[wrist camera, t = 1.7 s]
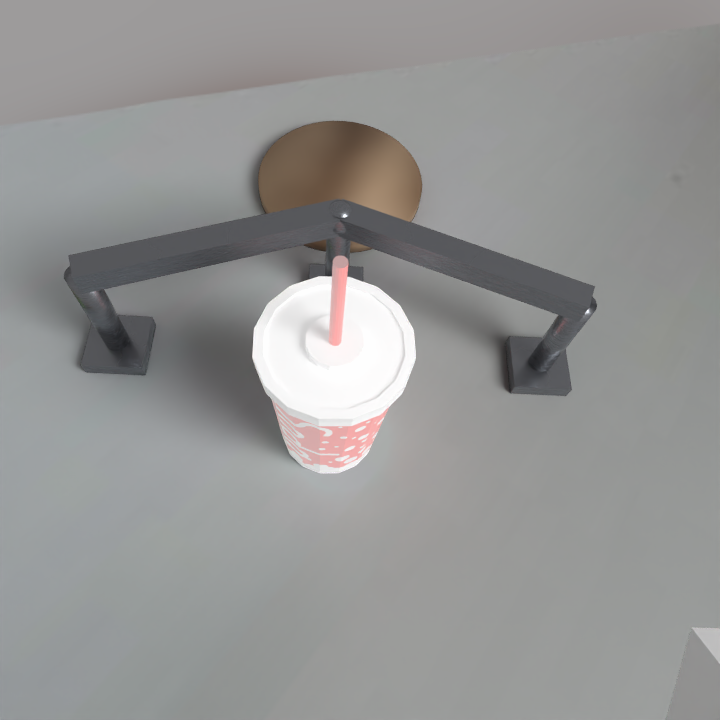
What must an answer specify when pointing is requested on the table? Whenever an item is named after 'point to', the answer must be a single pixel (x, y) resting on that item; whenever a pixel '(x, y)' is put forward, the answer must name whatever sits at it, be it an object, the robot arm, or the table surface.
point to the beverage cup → (332, 365)
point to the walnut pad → (340, 171)
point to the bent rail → (338, 227)
